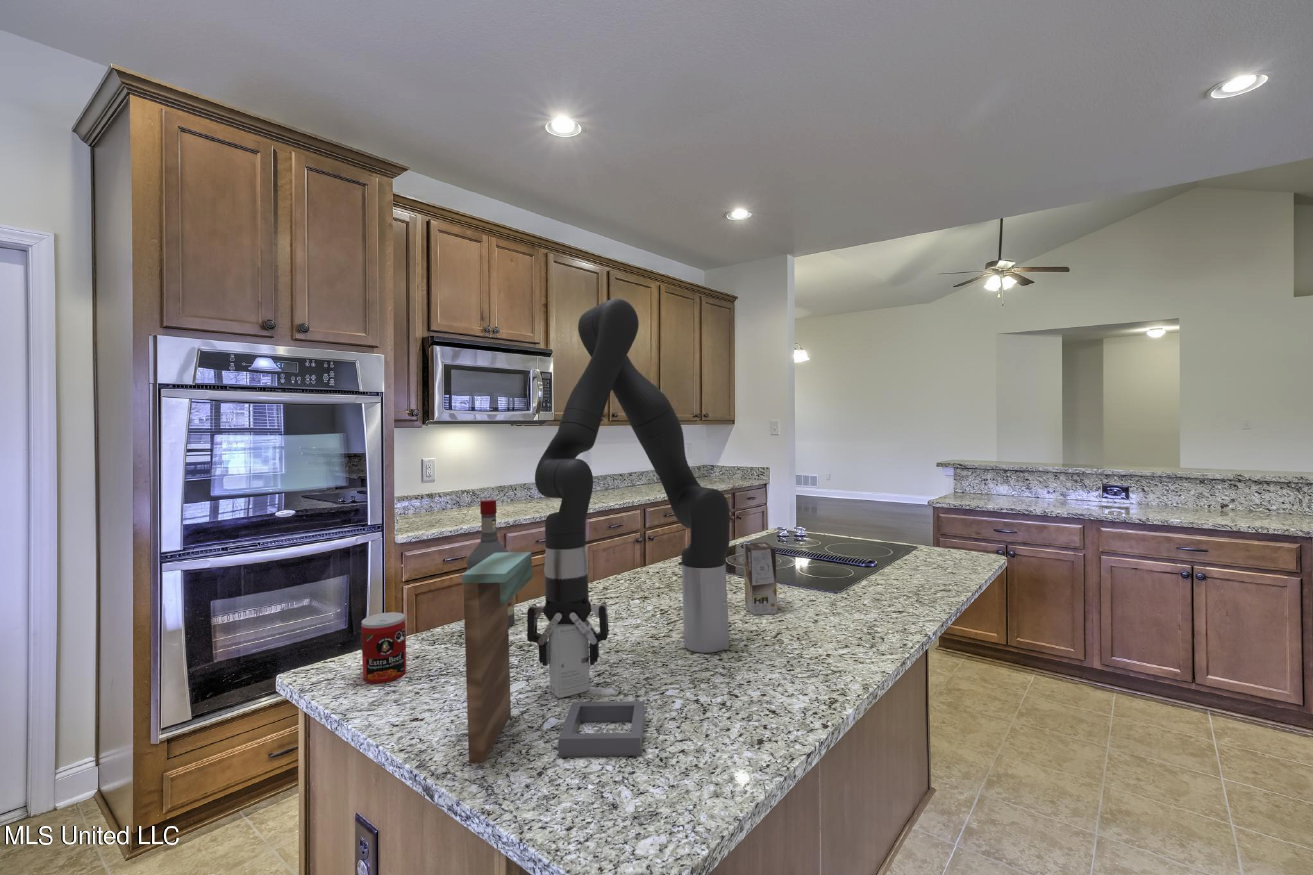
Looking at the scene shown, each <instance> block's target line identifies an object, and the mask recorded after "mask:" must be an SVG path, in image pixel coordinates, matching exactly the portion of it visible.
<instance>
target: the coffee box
mask: <svg viewBox="0 0 1313 875" xmlns="http://www.w3.org/2000/svg"><path fill="white" fill-rule="evenodd" d="M742 545H743V571H744V598H745V599H744V600H745V603H744V604H745V607H746V608H747V609H748V611H750V613H751V614H752V615H753V616H755V615H758V616H759V615H775V614H776V615H777V613H778V595H777V594H778V593H777V592H778V591H777V587H778V586H777V585H778V584H777V558H776V557H777V556H776V555H777V554H776V552H777V550H776V548H775V547H774V546H772V545H771V544H769V543H768V542H765V541H764V542H748V543H745V542H744V543H743V544H742Z"/></svg>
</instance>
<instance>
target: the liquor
mask: <svg viewBox="0 0 1313 875" xmlns="http://www.w3.org/2000/svg"><path fill="white" fill-rule="evenodd" d="M479 503H480V507H479V508H480V512H479V513H480V515H481V517H480V518H481V519H480V520H481V522H480V523H481V536H480V542H478V544H477V546H475V548H474V549H473V550H472V551H471V553H470V554H469V555H468V558H467V561H466V571H468V570H469V569H471V568H472V567H474V566H475V565H477V564H479V563H480V562H482V561H483V560H485V559H486V558H488V557H489V556H491V555H492V554H494V553H505V552H509V550H508V549H507V548H506V547H505V546H503V544H502V543H501V542H500V541H499V537H498V534H497V533H498V532H497V513H498V512H497V511H498V510H497V500H496V499H484V500H480V502H479ZM515 619H516V618H515V596H514V597H513V598H512V599H511V600H510V601H509V602H508V627H509V628H510V626H511V627H513V625H514V623H515V621H516V620H515Z"/></svg>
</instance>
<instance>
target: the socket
mask: <svg viewBox="0 0 1313 875" xmlns="http://www.w3.org/2000/svg"><path fill="white" fill-rule="evenodd" d="M645 706H646V705H645V700H625V701H623V700H622V701H618V700H617V701H616V700H615V701H611V700H610V701H572V702H571V704H570V706H569V710H568V713H567V715H566V718H565V721H564V723H563V726H562V728H561V731H560V733H559V736H558V739H557V740H558V741H557V743H558V747H557V748H558V757H559V758H562V757H564V758H567V757H568V758H569V757H570V758H572V757H573V758H574V757H583V758H585V757H640V756H642V748H643V738H644V730H645V720H646V708H645ZM608 722H610V723H612V722H613V723H615V722H616V723H617V722H622V723H623V722H631V724H630V726H631V727H630V732H590V733H589V732H585V733H584V732H583V733H582V732H581V733H578V731H579V728H580V725H581V723H608Z"/></svg>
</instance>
